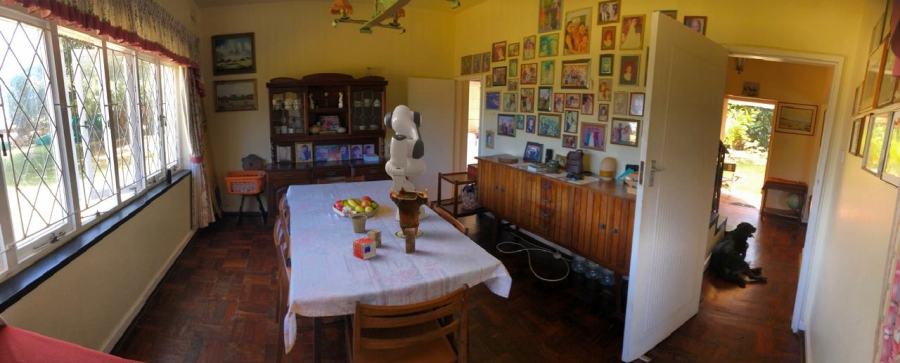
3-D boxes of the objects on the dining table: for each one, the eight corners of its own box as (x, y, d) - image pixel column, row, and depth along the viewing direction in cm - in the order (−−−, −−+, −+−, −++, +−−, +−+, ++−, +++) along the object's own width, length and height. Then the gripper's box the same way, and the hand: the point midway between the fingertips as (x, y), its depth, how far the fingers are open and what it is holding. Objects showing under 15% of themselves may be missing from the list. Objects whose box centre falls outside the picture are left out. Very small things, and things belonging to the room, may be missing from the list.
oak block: (374, 243, 234) (374, 229, 233) (381, 245, 232) (380, 231, 230) (368, 246, 230) (367, 231, 229) (374, 248, 227) (374, 233, 226)
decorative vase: (425, 240, 238) (423, 191, 232) (386, 239, 243) (382, 191, 237) (434, 229, 258) (432, 183, 252) (398, 228, 263) (394, 183, 257)
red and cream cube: (365, 251, 222) (365, 237, 221) (375, 255, 218) (375, 240, 216) (353, 256, 216) (352, 241, 215) (363, 260, 212) (362, 244, 210)
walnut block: (415, 249, 225) (414, 227, 223) (415, 253, 221) (415, 230, 218) (405, 250, 225) (405, 228, 223) (405, 253, 220) (405, 231, 218)
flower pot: (369, 229, 258) (369, 215, 257) (365, 234, 249) (364, 219, 247) (354, 228, 259) (353, 214, 257) (349, 233, 250) (348, 219, 248)
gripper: (392, 162, 224) (391, 188, 227) (391, 172, 204) (390, 200, 208) (404, 163, 225) (403, 188, 228) (404, 173, 205) (403, 200, 209)
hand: (397, 194), depth 218 cm, fingers closed
